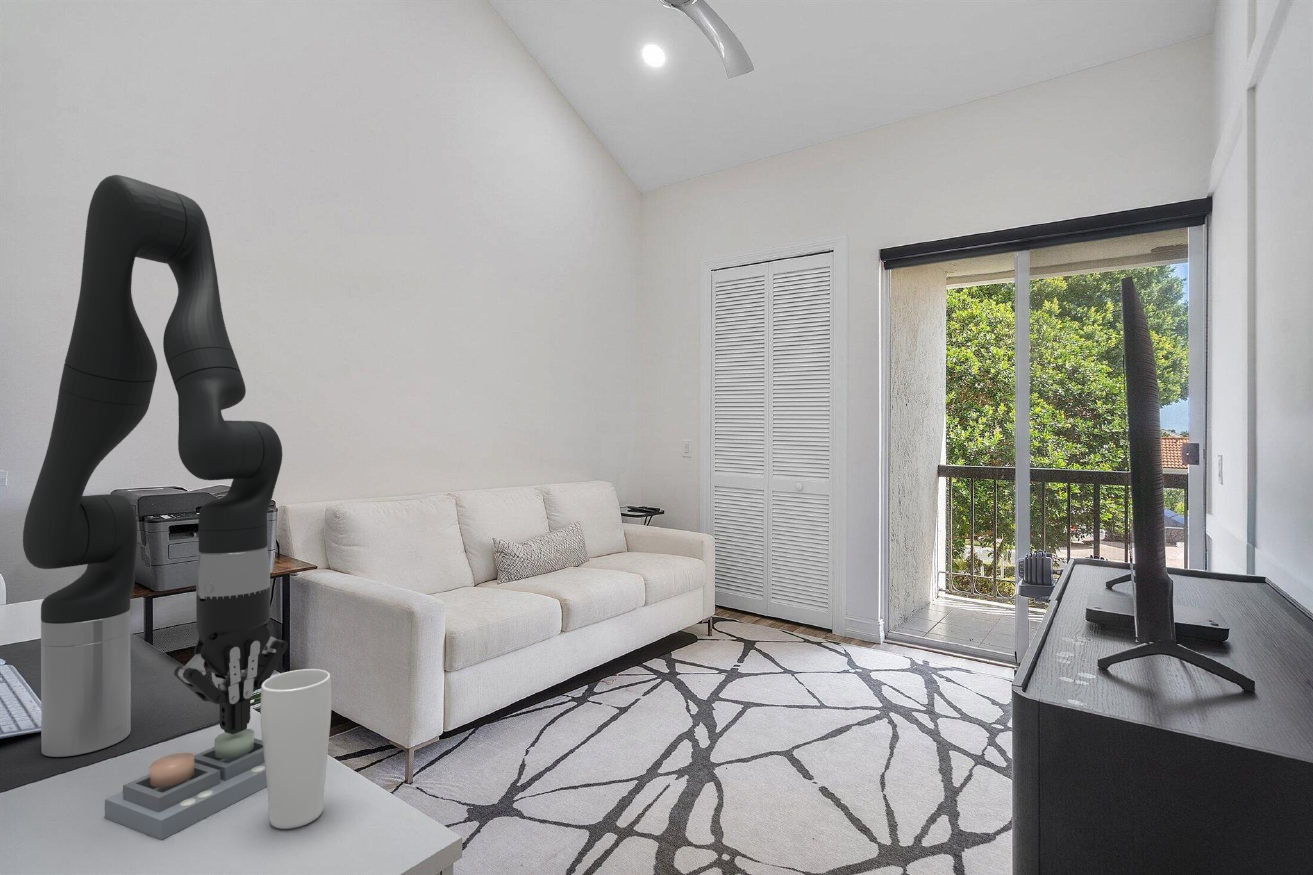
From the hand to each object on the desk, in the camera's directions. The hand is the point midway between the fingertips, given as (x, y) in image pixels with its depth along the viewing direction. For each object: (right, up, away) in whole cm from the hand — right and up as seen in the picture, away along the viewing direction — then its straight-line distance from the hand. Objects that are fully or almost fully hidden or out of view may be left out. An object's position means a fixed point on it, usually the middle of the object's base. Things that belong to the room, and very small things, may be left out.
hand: (235, 730), depth 81 cm
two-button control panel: (-2, -6, -3) cm, 7 cm away
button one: (0, -2, 0) cm, 2 cm away
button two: (-3, -2, -6) cm, 7 cm away
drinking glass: (+12, -6, -8) cm, 15 cm away
